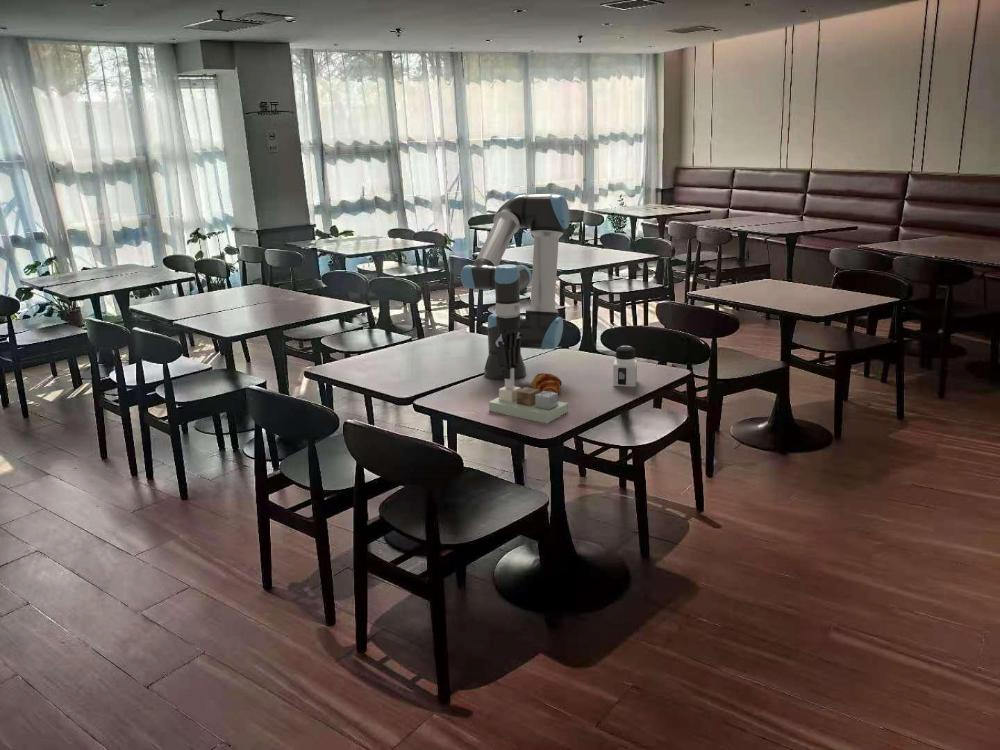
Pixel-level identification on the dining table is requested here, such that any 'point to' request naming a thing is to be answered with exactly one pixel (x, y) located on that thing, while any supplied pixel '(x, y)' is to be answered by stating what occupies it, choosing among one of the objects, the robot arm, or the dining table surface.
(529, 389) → the brown wooden cube
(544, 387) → the croissant
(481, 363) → the dining table surface
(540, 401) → the white marble cube
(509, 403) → the pale green flat block
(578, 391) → the dining table surface
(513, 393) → the key ivory
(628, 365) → the container
